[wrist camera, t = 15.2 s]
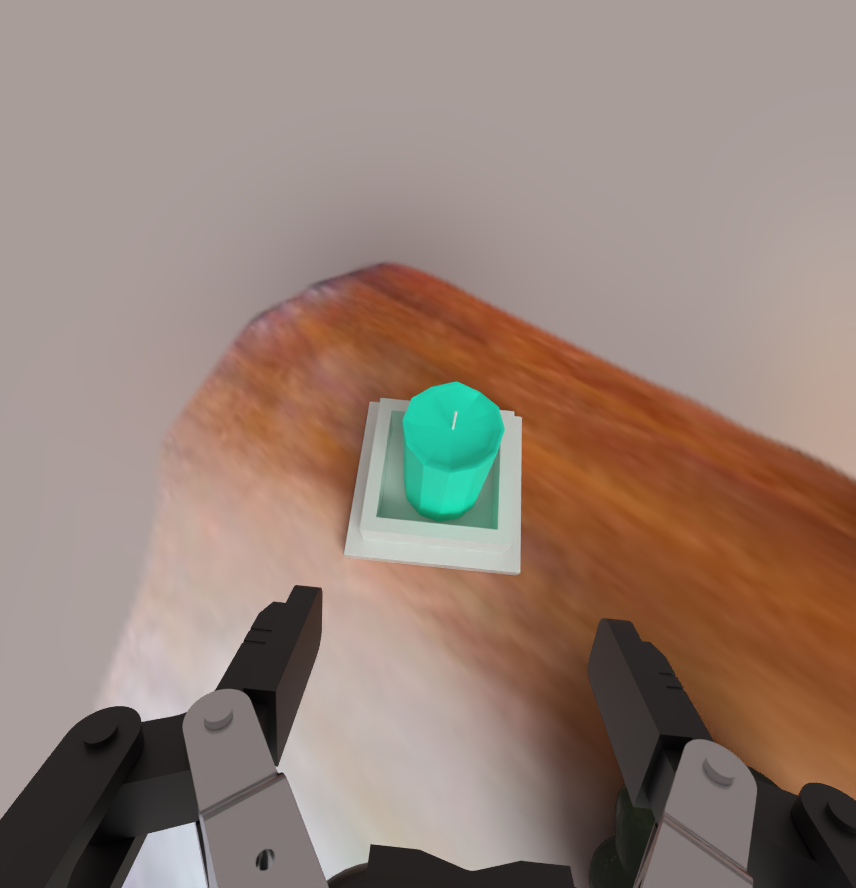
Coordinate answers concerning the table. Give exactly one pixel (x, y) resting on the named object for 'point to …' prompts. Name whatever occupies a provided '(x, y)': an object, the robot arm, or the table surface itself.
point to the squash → (628, 843)
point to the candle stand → (420, 538)
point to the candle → (448, 449)
